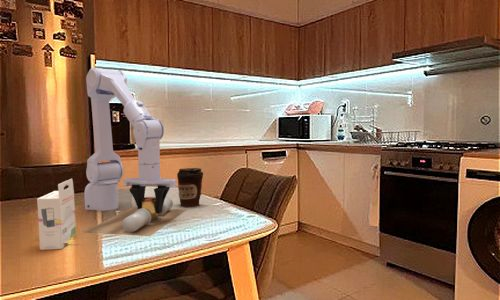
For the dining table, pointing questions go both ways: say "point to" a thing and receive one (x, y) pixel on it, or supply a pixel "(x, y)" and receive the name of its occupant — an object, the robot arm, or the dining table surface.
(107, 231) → the board
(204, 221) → the dining table surface
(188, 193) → the coffee cup
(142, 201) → the tan red-topped cylinder
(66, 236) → the ink box
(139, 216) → the pipe stubs
